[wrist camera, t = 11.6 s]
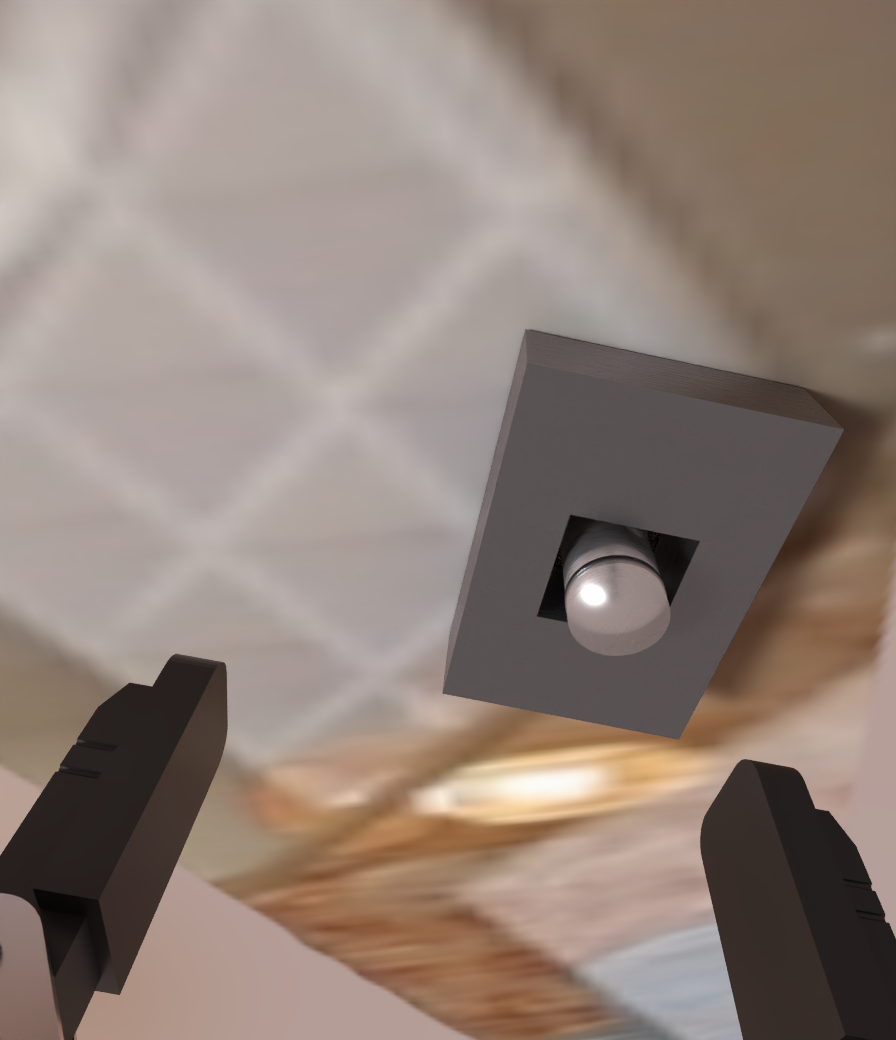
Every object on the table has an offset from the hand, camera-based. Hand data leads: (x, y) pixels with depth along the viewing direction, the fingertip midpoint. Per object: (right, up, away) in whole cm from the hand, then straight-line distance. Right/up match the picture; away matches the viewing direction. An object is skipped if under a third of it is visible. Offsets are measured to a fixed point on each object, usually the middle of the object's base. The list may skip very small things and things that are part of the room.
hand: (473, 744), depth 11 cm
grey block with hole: (+8, +3, +28) cm, 30 cm away
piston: (+8, +3, +28) cm, 30 cm away
